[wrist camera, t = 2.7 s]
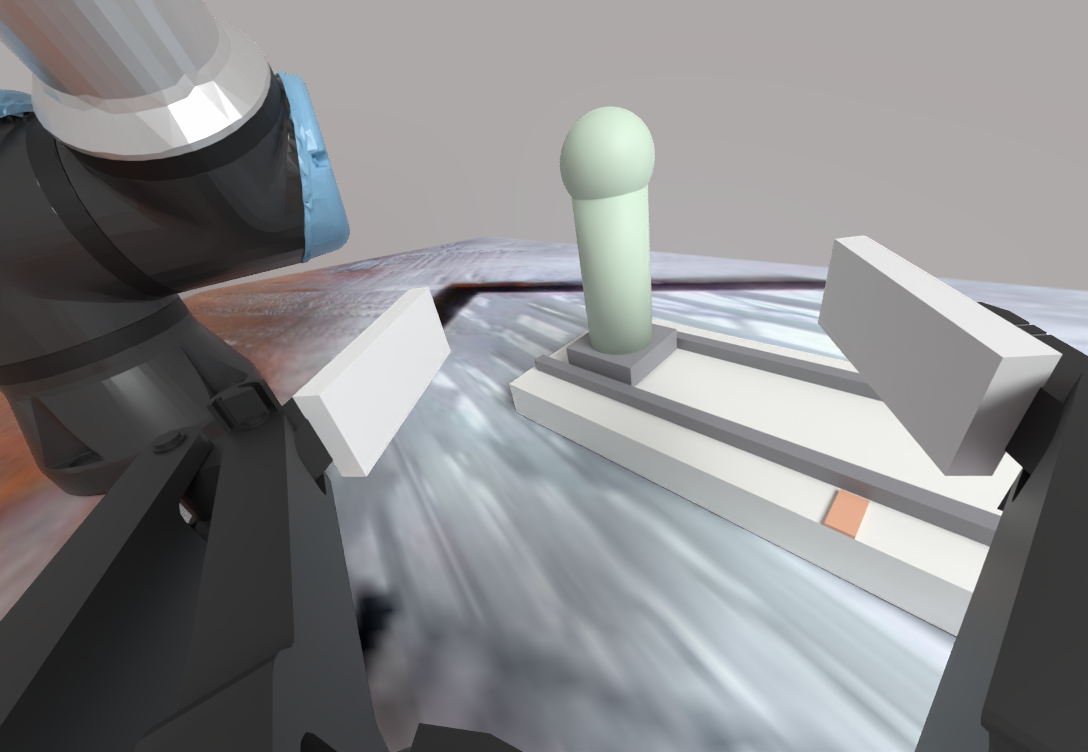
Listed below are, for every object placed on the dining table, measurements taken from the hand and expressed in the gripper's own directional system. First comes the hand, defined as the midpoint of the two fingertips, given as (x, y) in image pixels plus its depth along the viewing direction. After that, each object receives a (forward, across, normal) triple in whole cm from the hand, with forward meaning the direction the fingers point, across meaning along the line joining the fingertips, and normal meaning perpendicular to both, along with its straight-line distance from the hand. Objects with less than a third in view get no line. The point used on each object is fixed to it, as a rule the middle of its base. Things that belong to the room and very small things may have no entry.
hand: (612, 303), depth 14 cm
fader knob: (+11, 0, -9) cm, 14 cm away
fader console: (+6, +6, -12) cm, 15 cm away
